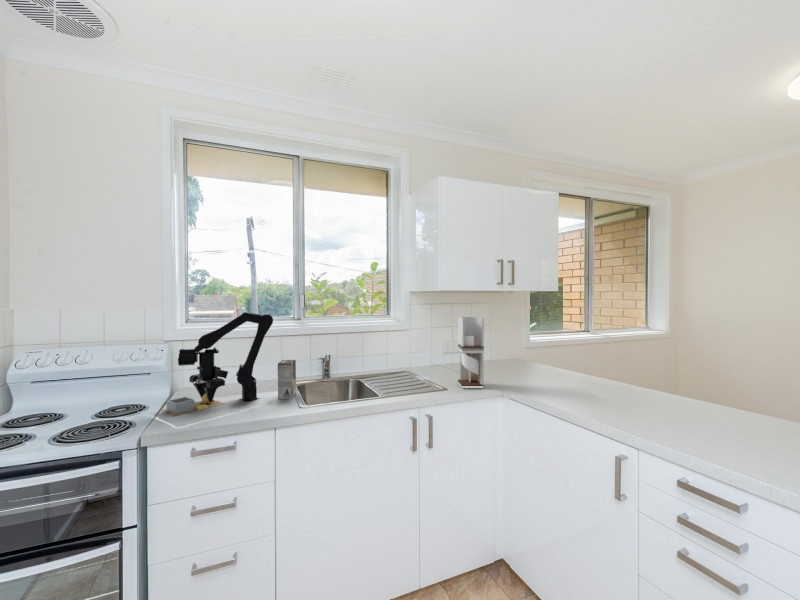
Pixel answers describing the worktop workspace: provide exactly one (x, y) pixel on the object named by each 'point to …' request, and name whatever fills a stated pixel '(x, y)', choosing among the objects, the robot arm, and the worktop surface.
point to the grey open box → (180, 405)
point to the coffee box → (286, 379)
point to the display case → (471, 350)
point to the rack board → (210, 404)
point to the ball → (205, 398)
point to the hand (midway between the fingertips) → (207, 400)
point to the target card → (200, 407)
